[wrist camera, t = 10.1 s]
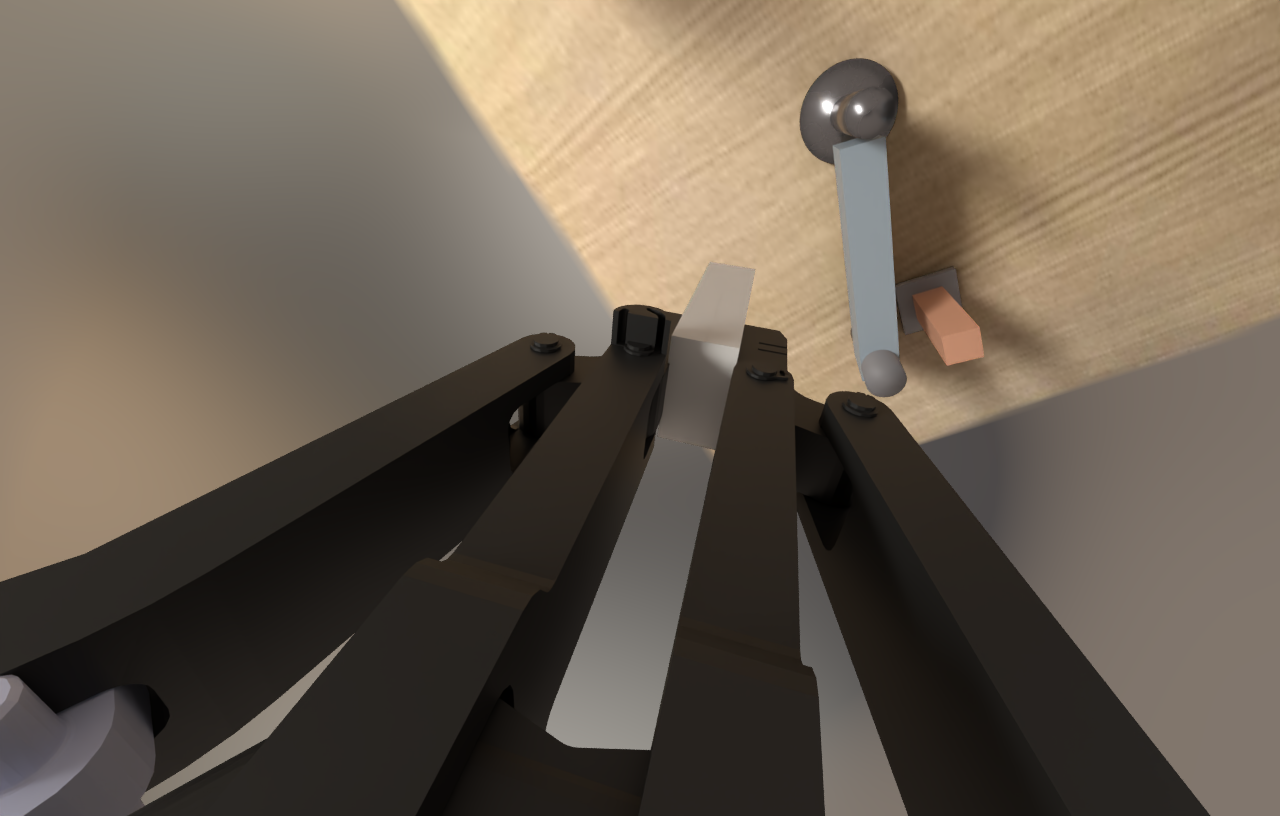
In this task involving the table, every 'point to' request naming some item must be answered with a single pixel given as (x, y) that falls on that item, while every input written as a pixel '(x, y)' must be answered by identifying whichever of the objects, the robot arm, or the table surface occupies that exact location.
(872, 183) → the gate
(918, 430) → the table surface
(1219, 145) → the table surface
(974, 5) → the table surface
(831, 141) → the hinge post
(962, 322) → the post
